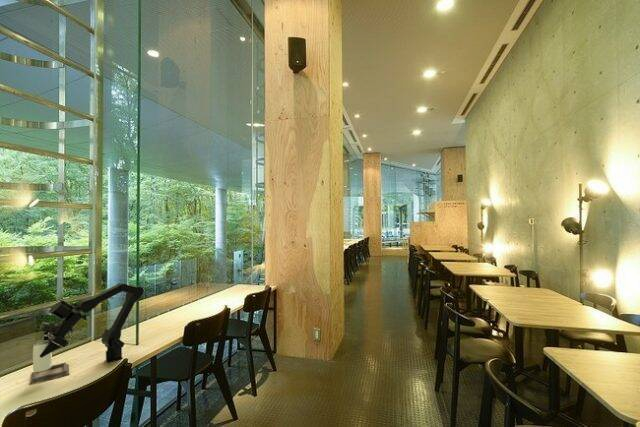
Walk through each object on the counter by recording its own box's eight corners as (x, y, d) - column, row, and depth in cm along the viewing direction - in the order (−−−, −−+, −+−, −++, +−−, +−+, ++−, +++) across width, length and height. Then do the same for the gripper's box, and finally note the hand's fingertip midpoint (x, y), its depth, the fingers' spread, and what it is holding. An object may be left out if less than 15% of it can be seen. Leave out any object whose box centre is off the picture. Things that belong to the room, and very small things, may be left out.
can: (50, 364, 150) (49, 338, 150) (53, 368, 146) (53, 341, 146) (31, 369, 145) (31, 343, 145) (34, 373, 141) (34, 346, 141)
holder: (68, 364, 164) (68, 361, 164) (69, 374, 153) (69, 370, 153) (31, 373, 155) (31, 369, 155) (29, 384, 144) (29, 380, 144)
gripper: (47, 311, 155) (16, 341, 146) (58, 318, 143) (25, 352, 134) (68, 323, 161) (39, 353, 152) (80, 330, 149) (50, 363, 141)
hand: (38, 355), depth 145 cm, fingers closed on can, 6 cm apart
